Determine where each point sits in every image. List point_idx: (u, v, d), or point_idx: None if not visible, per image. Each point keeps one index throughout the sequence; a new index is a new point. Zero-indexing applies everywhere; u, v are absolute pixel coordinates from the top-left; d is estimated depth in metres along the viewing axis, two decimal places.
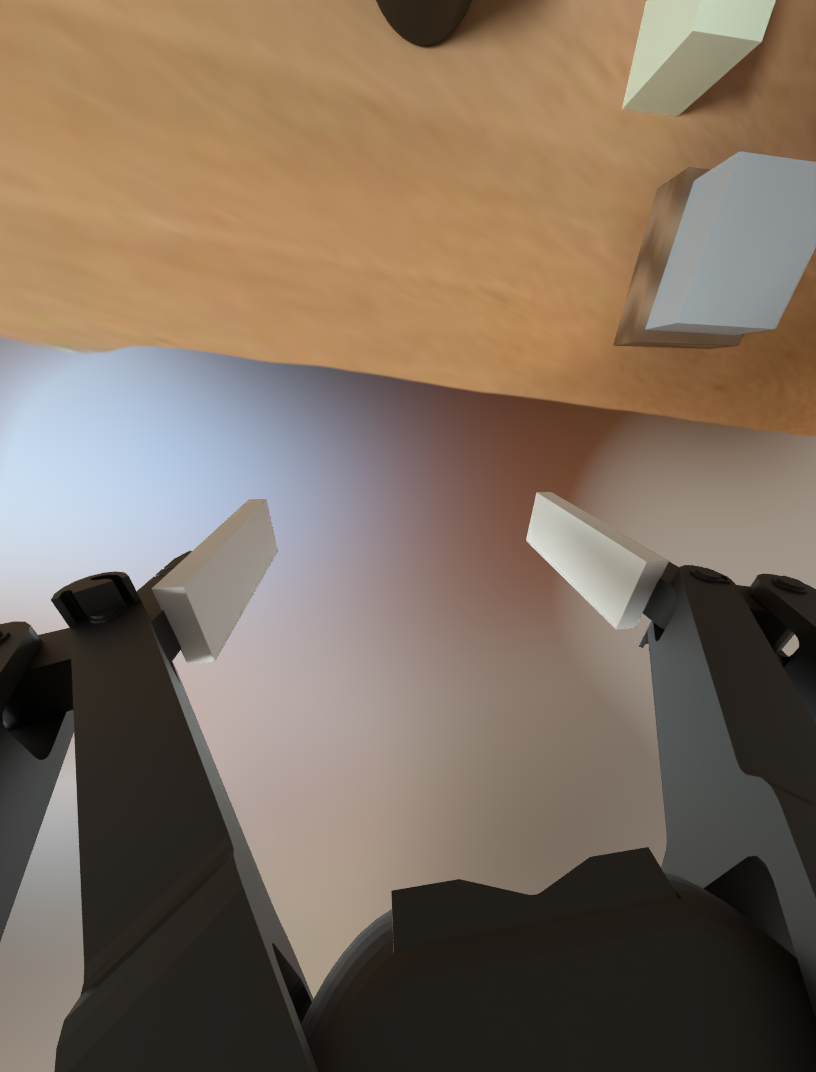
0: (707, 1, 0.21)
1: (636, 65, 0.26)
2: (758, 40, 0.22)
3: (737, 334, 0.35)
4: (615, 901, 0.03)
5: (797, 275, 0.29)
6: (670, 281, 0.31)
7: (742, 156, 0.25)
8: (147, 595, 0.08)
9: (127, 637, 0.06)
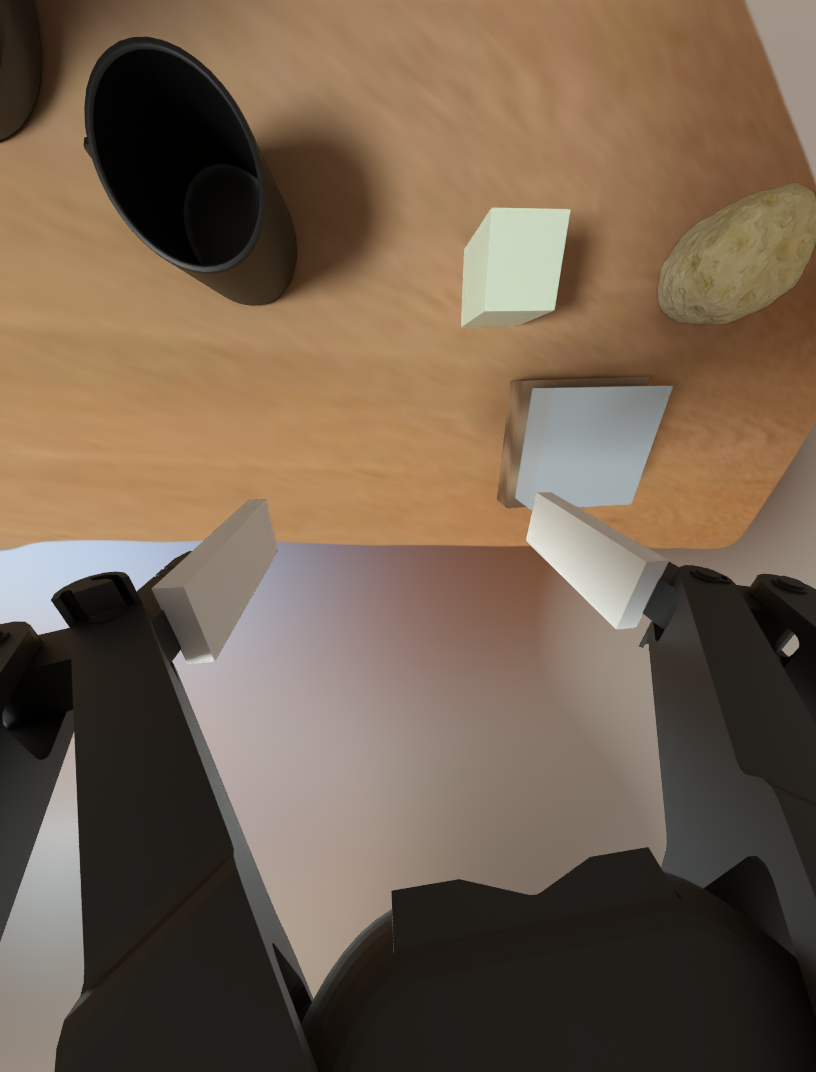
0: (492, 290, 0.23)
1: (464, 299, 0.28)
2: (550, 309, 0.24)
3: None
4: (615, 901, 0.03)
5: (640, 465, 0.31)
6: (525, 467, 0.33)
7: (557, 391, 0.27)
8: (147, 596, 0.08)
9: (127, 637, 0.06)
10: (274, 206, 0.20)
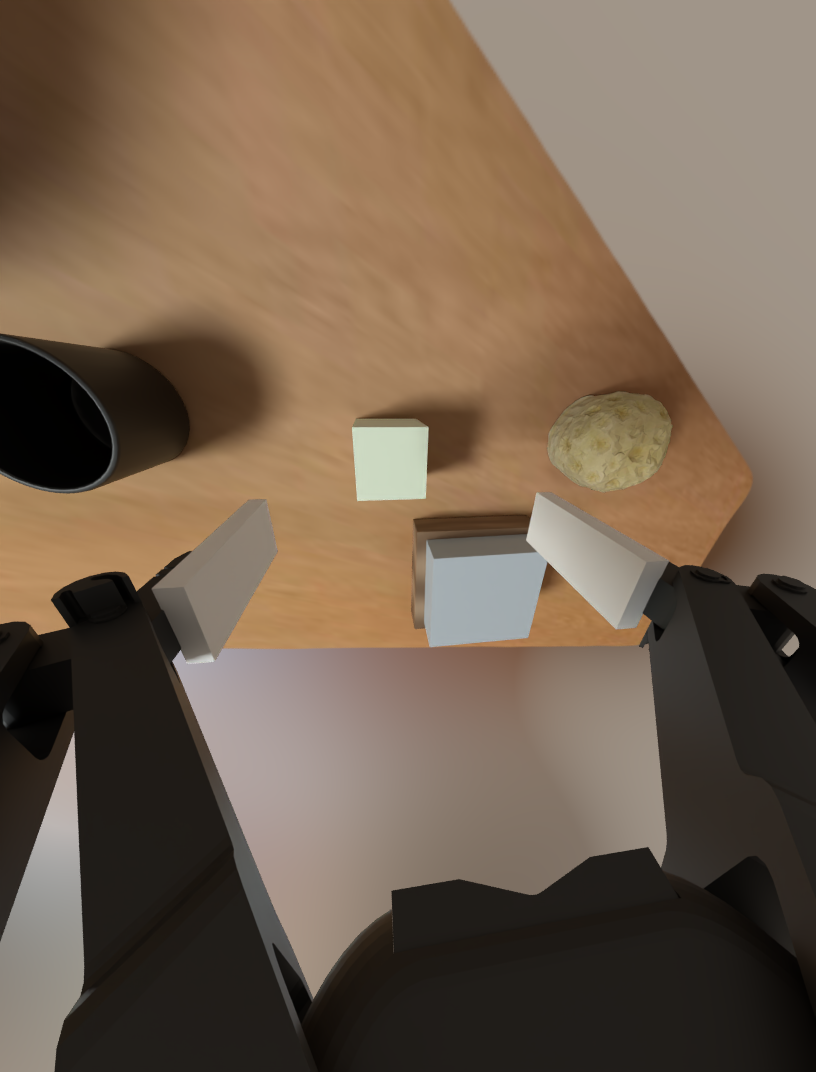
0: (362, 486, 0.25)
1: None
2: (422, 498, 0.26)
3: None
4: (615, 901, 0.03)
5: (531, 609, 0.33)
6: (426, 604, 0.34)
7: (438, 560, 0.28)
8: (147, 596, 0.08)
9: (127, 637, 0.06)
10: (137, 430, 0.21)
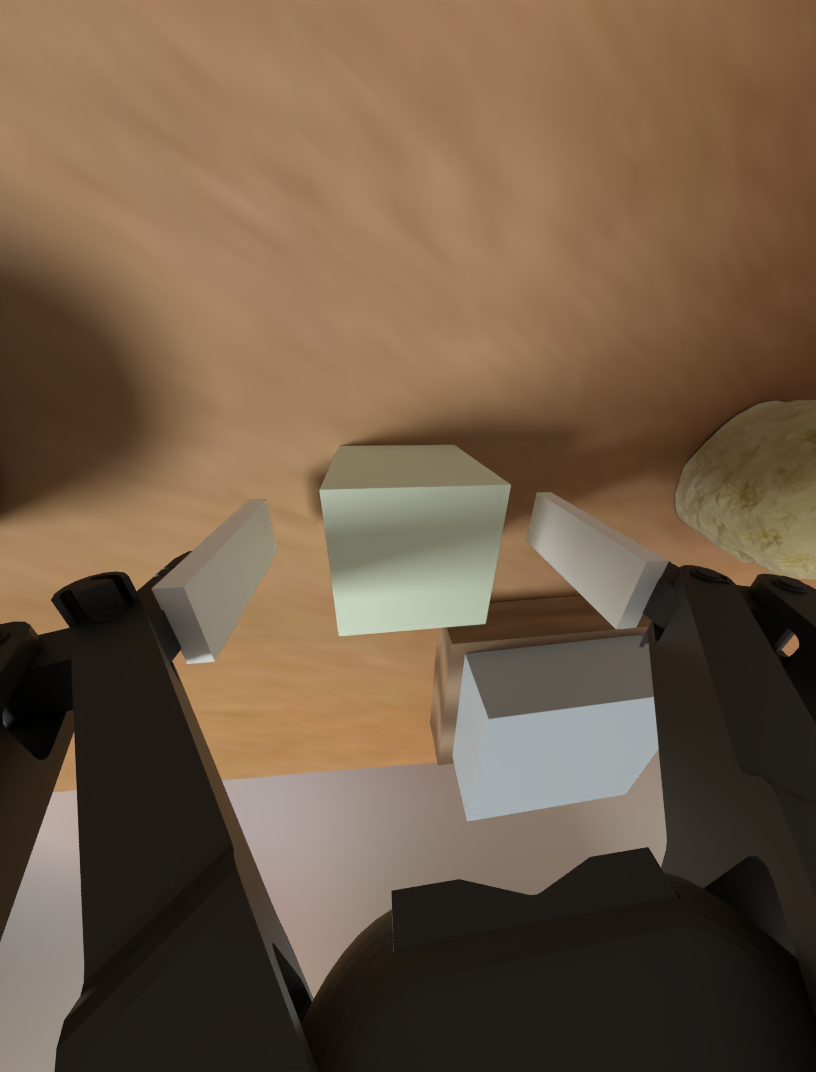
0: (349, 610, 0.11)
1: None
2: (478, 623, 0.12)
3: None
4: (615, 901, 0.03)
5: (641, 764, 0.19)
6: (461, 747, 0.21)
7: (496, 720, 0.15)
8: (147, 595, 0.08)
9: (127, 637, 0.06)
10: None
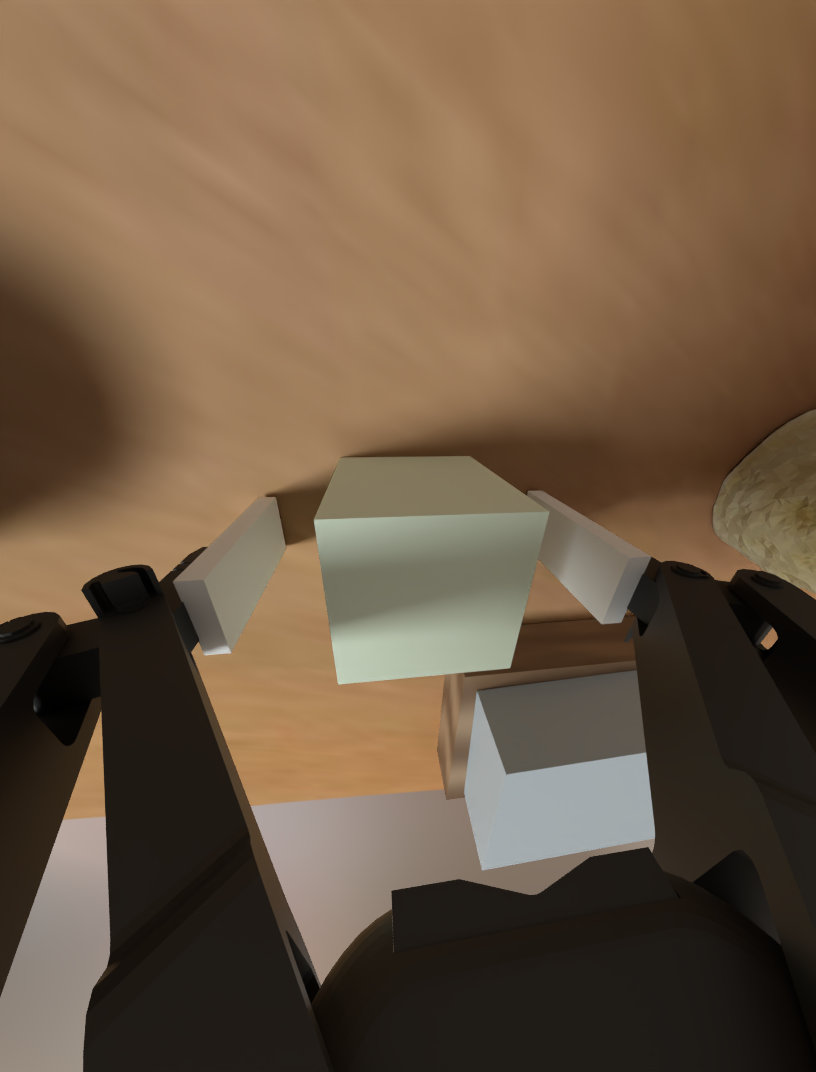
0: (350, 656, 0.09)
1: None
2: (502, 668, 0.10)
3: None
4: (615, 901, 0.03)
5: None
6: (473, 787, 0.19)
7: (515, 775, 0.13)
8: (167, 589, 0.08)
9: (150, 628, 0.06)
10: None
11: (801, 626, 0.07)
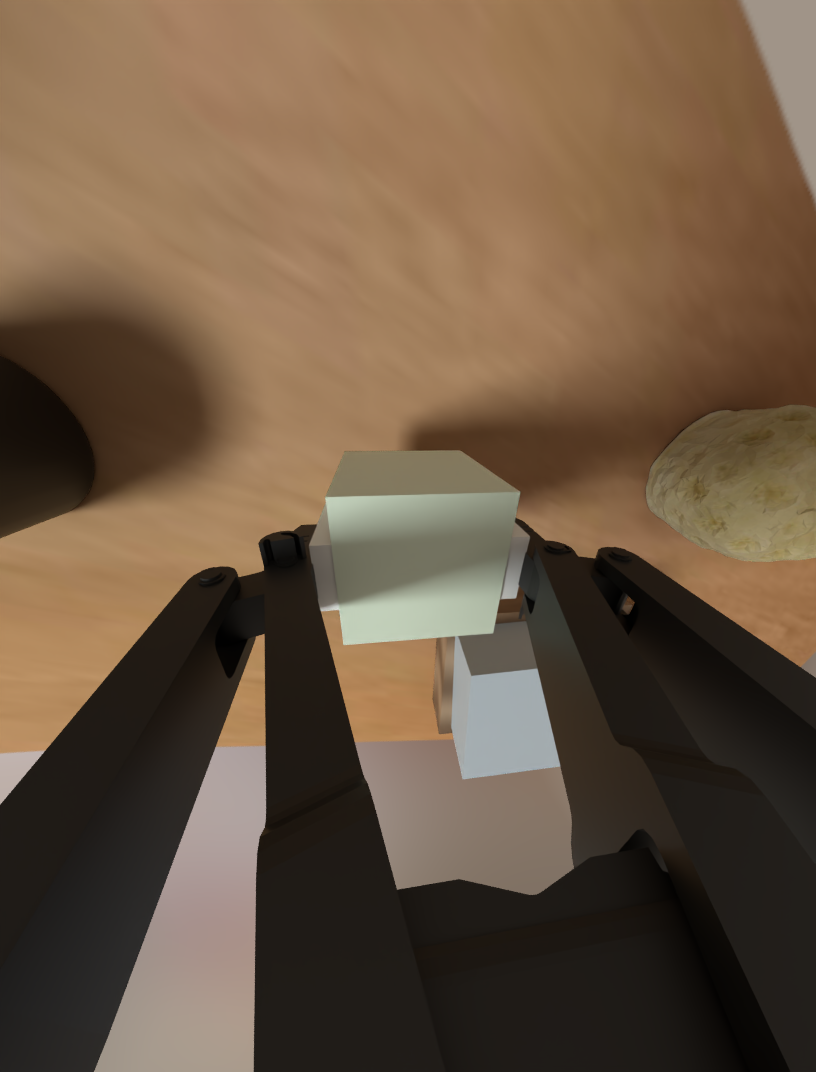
0: (354, 618, 0.11)
1: None
2: (486, 632, 0.12)
3: None
4: (615, 900, 0.03)
5: None
6: (456, 713, 0.23)
7: (478, 678, 0.18)
8: None
9: (297, 583, 0.08)
10: None
11: (653, 597, 0.07)
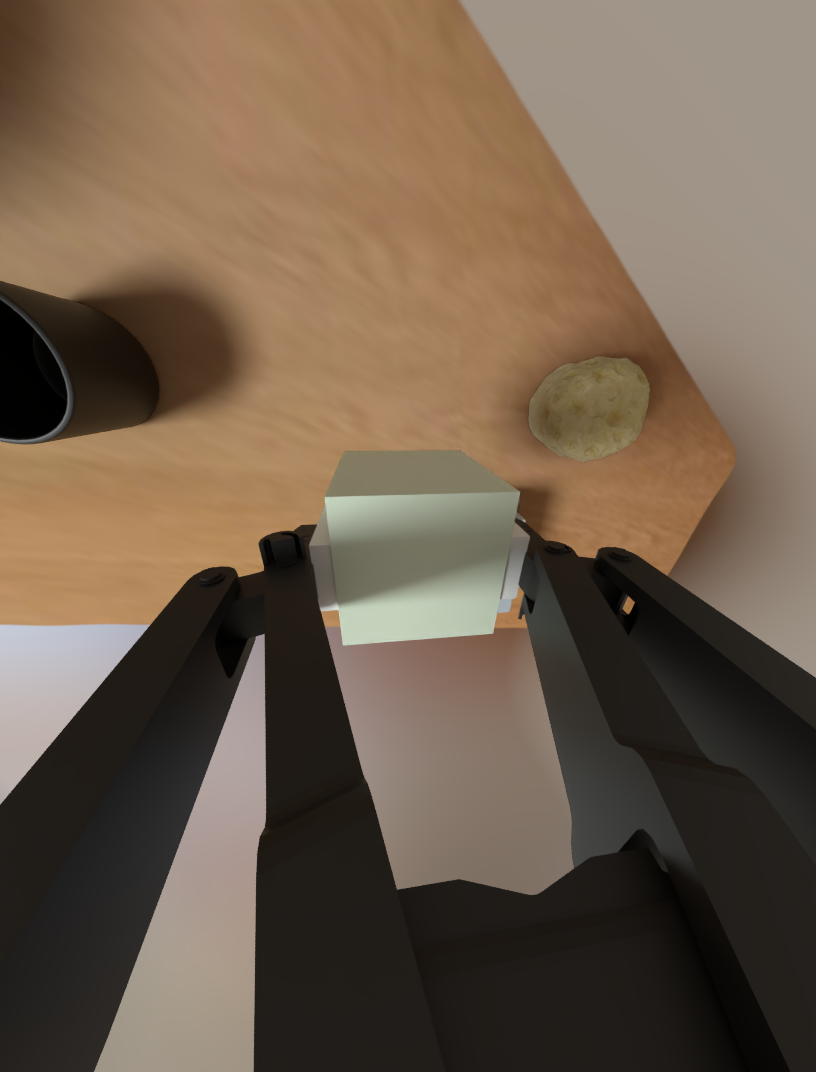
0: (354, 618, 0.11)
1: None
2: (485, 633, 0.12)
3: None
4: (615, 901, 0.03)
5: None
6: None
7: None
8: None
9: (297, 583, 0.08)
10: (96, 380, 0.20)
11: (653, 597, 0.07)
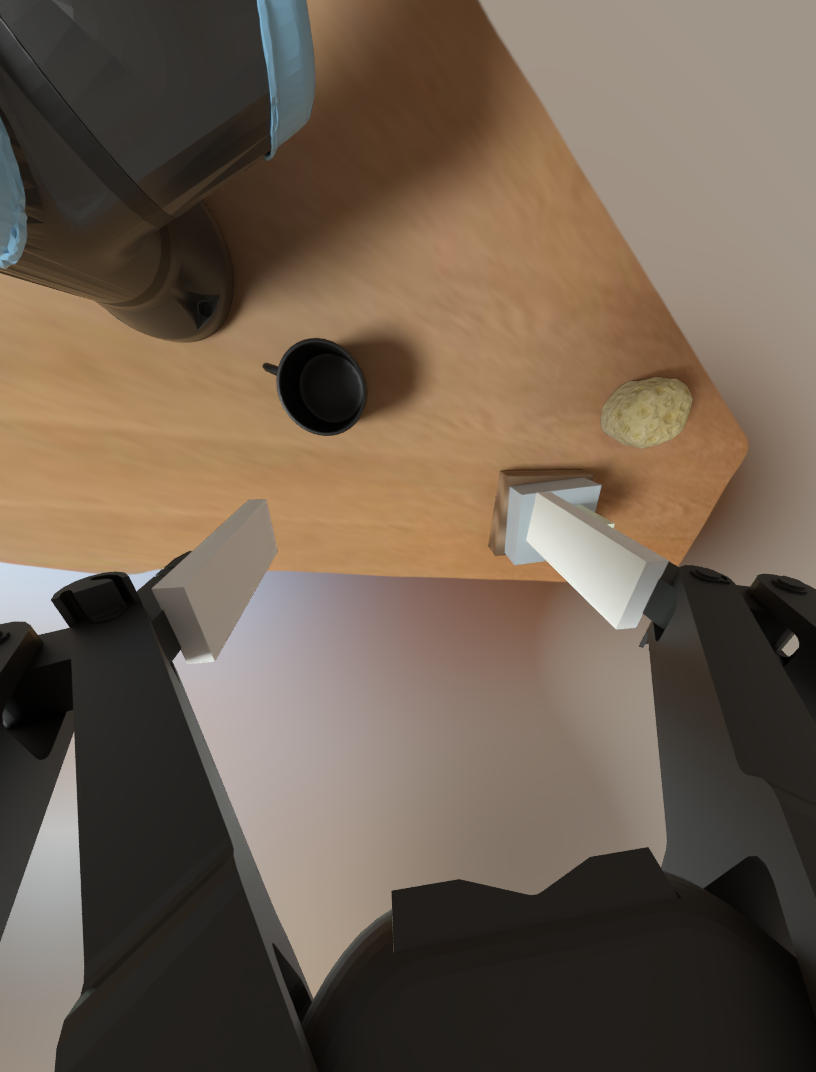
0: None
1: None
2: None
3: None
4: (615, 901, 0.03)
5: None
6: (509, 535, 0.47)
7: (524, 496, 0.42)
8: (147, 595, 0.08)
9: (127, 637, 0.06)
10: (366, 397, 0.34)
11: None
